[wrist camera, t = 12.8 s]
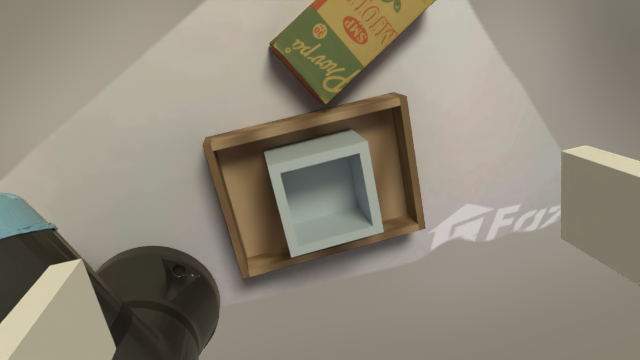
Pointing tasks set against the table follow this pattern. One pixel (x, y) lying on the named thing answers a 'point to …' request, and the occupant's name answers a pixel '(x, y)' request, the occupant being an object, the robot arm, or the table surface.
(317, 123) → the crate
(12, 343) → the robot arm
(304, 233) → the small crate
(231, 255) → the table surface
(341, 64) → the carton
